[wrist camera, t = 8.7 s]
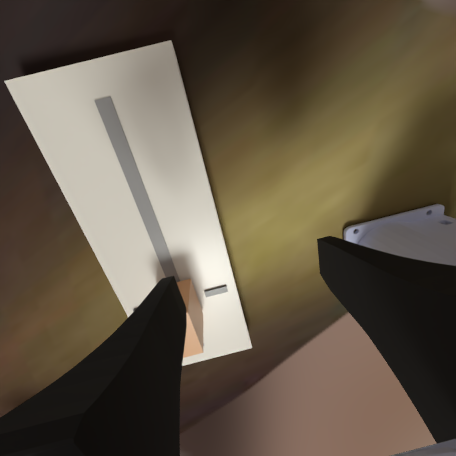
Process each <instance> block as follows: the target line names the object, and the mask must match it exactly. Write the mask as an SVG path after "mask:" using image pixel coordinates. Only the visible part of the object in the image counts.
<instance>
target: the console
mask: <svg viewBox="0 0 456 456" xmlns="http://www.w3.org/2000/svg"><path fill="white" fill-rule="evenodd" d="M5 83H6V85H7V87H8V89H9V91H10V93H11V95H12V97H13V99H14V101H15V102H16V104H17V106H18V108H19V110H20V112H21V114H22V116H23V118H24V120H25V122H26V123H27V125H28V127H29V129H30V131H31V133H32V135H33V137H34V139H35V141H36V142H37V144H38V146H39V148H40V150H41V152H42V154H43V156H44V158H45V160H46V162H47V163H48V165H49V167H50V169H51V171H52V173H53V175H54V177H55V179H56V181H57V182H58V184H59V186H60V188H61V190H62V192H63V194H64V196H65V198H66V200H67V202H68V203H69V205H70V207H71V209H72V211H73V213H74V215H75V217H76V219H77V221H78V222H79V224H80V226H81V228H82V230H83V232H84V234H85V236H86V238H87V240H88V242H89V243H90V245H91V247H92V249H93V251H94V253H95V255H96V257H97V259H98V261H99V262H100V264H101V266H102V268H103V270H104V272H105V274H106V276H107V278H108V280H109V282H110V283H111V285H112V287H113V289H114V291H115V293H116V295H117V297H118V299H119V301H120V303H121V304H122V306H123V308H124V310H125V312H126V314H127V316H128V317H129V316H130V315H131V314H132V313H133V312H134V311H135V310H136V308H137V307H138V306H139V305H140V304H141V303H142V301H143V300H144V299H145V298H146V297H147V295H148V294H149V293H150V292H151V290H152V289H153V288H154V287H155V286H156V284H157V283H158V282H159V281H160V280H161V279H162V278H166V277H170V276H174V277H175V280H176V282H179V281H183V280H187V279H191V281H192V284H193V286H194V289H195V292H196V295H197V298H198V301H199V303H200V306H201V309H202V312H203V353H200V354H196V355H193V356H189V357H185V358H183V362H182V366H184V365H188V364H191V363H195V362H199V361H203V360H207V359H211V358H215V357H219V356H223V355H227V354H230V353H234V352H238V351H242V350H246V349H250V348H252V345H251V341H250V337H249V332H248V329H247V325H246V321H245V317H244V313H243V309H242V306H241V302H240V298H239V294H238V290H237V287H236V283H235V279H234V275H233V271H232V267H231V264H230V260H229V256H228V252H227V248H226V245H225V241H224V237H223V233H222V229H221V225H220V222H219V218H218V214H217V210H216V206H215V203H214V199H213V195H212V191H211V187H210V183H209V180H208V176H207V172H206V168H205V164H204V160H203V157H202V153H201V149H200V145H199V141H198V138H197V134H196V130H195V126H194V122H193V118H192V115H191V111H190V107H189V103H188V99H187V96H186V92H185V88H184V84H183V80H182V76H181V73H180V69H179V65H178V61H177V57H176V54H175V50H174V47H173V44H172V41H171V40H170V41H166V42H161V43H157V44H153V45H149V46H145V47H141V48H137V49H133V50H129V51H125V52H121V53H117V54H113V55H109V56H104V57H100V58H96V59H92V60H88V61H84V62H80V63H76V64H72V65H68V66H64V67H60V68H56V69H52V70H47V71H43V72H39V73H35V74H31V75H27V76H23V77H19V78H15V79H11V80H7V81H5Z"/></svg>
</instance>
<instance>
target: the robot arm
mask: <svg viewBox="0 0 456 456" xmlns="http://www.w3.org/2000/svg"><path fill="white" fill-rule="evenodd" d="M355 229H356V231H355V232H354V230H355ZM317 242H318V254H319V266H320V274H321V276H322V277H323V279H324V281H325V282H326V284H327V285H328V287H329V289H330V290H331V291H332V293H333V294H334V295H335V296H336V297H337V299H338V300H339V301H340V302H341V303H342V305H343V306H344V307H345V308H346V309H347V310H348V312H349V313H350V314H351V315H352V316H353V317H354V319H355V320H356V321H357V322H358V323H359V324H360V326H361V327H362V328H363V329H364V331H365V332H366V333H367V335H368V336H369V337H370V339H371V340H372V342H373V343H374V344H375V345H376V347H377V349H378V350H379V352H380V353H381V355H382V356H383V358H384V359H385V361H386V362H387V364H388V365H389V367H390V368H391V369H392V371H393V372H394V374H395V375H396V377H397V379H398V380H399V382H400V383H401V385H402V386H403V388H404V390H405V391H406V393H407V394H408V396H409V398H410V399H411V401H412V403H413V404H414V406H415V407H416V409H417V411H418V412H419V414H420V416H421V417H422V419H423V421H424V422H425V424H426V426H427V427H428V429H429V431H430V433H431V434H432V436H433V438H434V439H435V441H436V442H437V444H433V445H430V446H426V447H422V448H418V449H414V450H411V451H407V452H403V453H399V454H395V455H391V456H456V219H455V218H452V217H449V216H446V215H444V206H443V205H440V204H435V205H431V206H427V207H424V208H420V209H416V210H412V211H408V212H404V213H400V214H396V215H392V216H388V217H384V218H380V219H376V220H372V221H368V222H364V223H360V224H356V225H352V226H349V227H347V228H345V230H344V240H343V239H339V238H336V237H332V236H327V237H324V238H320V239H317ZM186 328H187V315H186V306H185V303H184V300H183V298H182V295H181V293H180V290H179V287H178V285H177V282H176V280H175V277H174V276H170V277H166V278H162V279H161V280H160V281H159V282H158V283H157V284H156V286H155V287H154V288H153V289H152V290H151V292H150V293H149V294H148V295H147V297H146V298H145V299H144V300H143V301H142V303H141V304H140V305H139V306H138V307H137V308H136V310H135V311H134V312H133V313H132V314H131V315H130V316H129V317H128V318H127V320H126V321H125V322H124V323H123V324H122V325H121V326H120V327H119V328H118V329H117V330H116V331H115V332H114V333H113V334H112V335H111V336H110V337H109V338H108V339H107V340H105V341H104V342H103V343H102V344H101V345H100V346H99V347H98V348H96V349H95V350H94V351H93V352H92V353H90V354H89V355H88V356H87V357H86V358H84V359H83V360H82V361H81V362H80V363H78V364H77V365H76V366H75V367H73V368H72V369H71V370H69V371H68V372H67V373H65V374H64V375H63V376H62V377H60V378H59V379H57V380H56V381H55V382H53V383H52V384H50V385H49V386H48V387H46V388H45V389H43V390H42V391H40V392H39V393H38V394H36V395H35V396H33V397H31V398H30V399H28V400H27V401H25V402H24V403H22V404H21V405H19V406H18V407H16V408H15V409H13V410H12V411H10V412H9V413H7V414H5V415H4V416H2V417H1V418H0V456H180V447H179V446H180V444H179V425H180V381H181V370H182V362H183V354H184V346H185V337H186Z"/></svg>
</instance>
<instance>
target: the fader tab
mask: <svg viewBox="0 0 456 456" xmlns="http://www.w3.org/2000/svg"><path fill="white" fill-rule="evenodd" d="M177 285H178V287H179V290H180V293H181V295H182V298H183V300H184V303H185V306H186V315H187V328H186V337H185V346H184V354H183V358H185V357H189V356H193V355H196V354H200V353H203V312H202V309H201V306H200V303H199V301H198V298H197V295H196V292H195V289H194V286H193V284H192V281H191V279H187V280H183V281H179V282H177Z"/></svg>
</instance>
